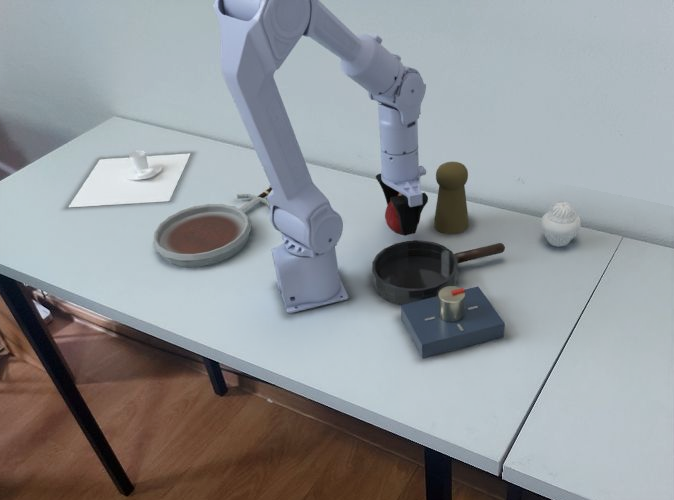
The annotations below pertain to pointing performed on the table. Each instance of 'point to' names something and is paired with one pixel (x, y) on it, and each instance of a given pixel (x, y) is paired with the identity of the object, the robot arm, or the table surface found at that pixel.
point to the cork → (451, 199)
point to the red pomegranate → (393, 218)
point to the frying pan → (205, 232)
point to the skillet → (413, 271)
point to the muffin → (560, 224)
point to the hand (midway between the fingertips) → (402, 223)
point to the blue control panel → (451, 324)
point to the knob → (451, 303)
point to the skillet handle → (479, 252)
